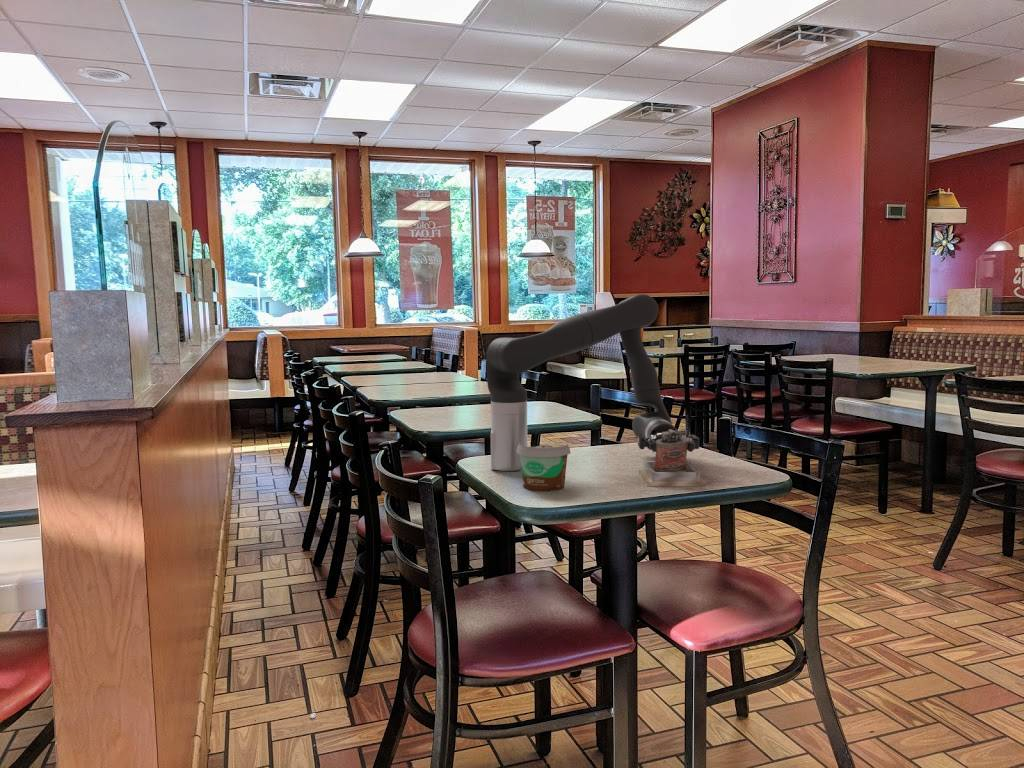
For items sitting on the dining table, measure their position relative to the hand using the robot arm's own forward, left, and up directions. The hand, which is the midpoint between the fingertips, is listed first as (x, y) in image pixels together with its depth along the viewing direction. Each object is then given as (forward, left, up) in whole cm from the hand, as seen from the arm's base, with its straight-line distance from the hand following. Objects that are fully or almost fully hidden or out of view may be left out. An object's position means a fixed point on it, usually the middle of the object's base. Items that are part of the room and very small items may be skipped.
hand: (673, 447), depth 174 cm
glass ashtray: (0, +3, -8) cm, 9 cm away
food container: (-31, -7, -8) cm, 32 cm away
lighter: (0, +3, -6) cm, 7 cm away
